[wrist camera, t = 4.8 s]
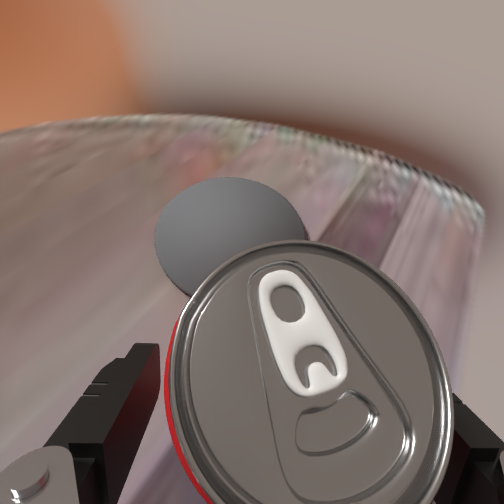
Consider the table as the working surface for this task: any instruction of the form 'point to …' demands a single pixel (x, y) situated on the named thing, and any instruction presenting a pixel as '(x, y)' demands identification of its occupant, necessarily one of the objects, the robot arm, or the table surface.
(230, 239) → the rubber mat
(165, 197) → the table surface
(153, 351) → the robot arm
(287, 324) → the beverage can
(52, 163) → the table surface
